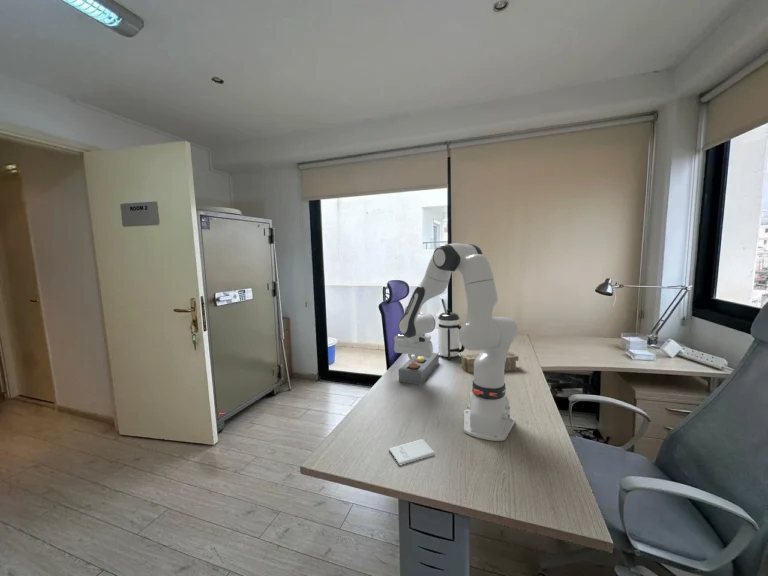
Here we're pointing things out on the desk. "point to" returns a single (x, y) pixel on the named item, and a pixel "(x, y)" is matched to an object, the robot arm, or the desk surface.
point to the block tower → (468, 360)
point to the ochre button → (420, 359)
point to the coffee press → (449, 334)
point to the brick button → (413, 365)
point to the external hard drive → (411, 451)
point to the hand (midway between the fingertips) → (413, 362)
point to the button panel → (420, 374)
